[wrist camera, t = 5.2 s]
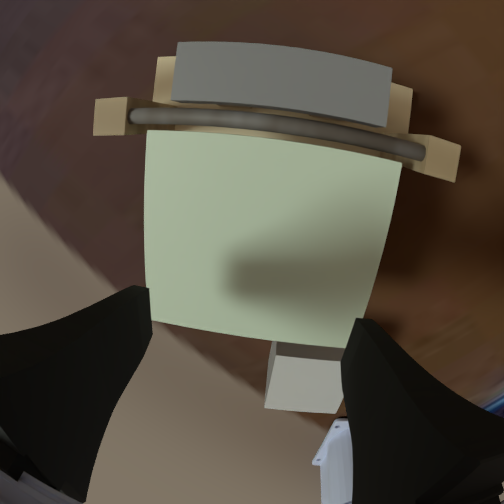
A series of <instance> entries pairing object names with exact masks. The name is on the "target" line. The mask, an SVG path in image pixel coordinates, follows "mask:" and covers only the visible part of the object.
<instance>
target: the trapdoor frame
mask: <svg viewBox="0 0 504 504" xmlns="http://www.w3.org/2000/svg"><path fill="white" fill-rule="evenodd" d="M175 60H176V56H172V57H158V62H157V69H156V77H155V85H154V94H153V101H148V100H142V99H137V98H131V97H119V98H105V99H96V102H95V114H94V129H93V136H96V135H132V134H147V130H173V131H195V132H211V133H224V134H235V135H246V136H255V137H264V138H272V139H280V140H287V141H294V142H301V143H307V144H314V145H320V146H326V147H331V148H337V149H342V150H347V151H352V152H357V153H362V154H367V155H371V156H376V157H380V158H385V159H389V160H393V161H397V162H400V163H402V167H401V168H403V167H405V168H408V169H411V170H414V171H417V172H420V173H423V174H426V175H430V176H433V177H437V178H441V179H444V180H447V181H451V182H454V183H455V179H456V174H457V168H458V162H459V156H460V150H461V146H460V145H458V144H455V143H452V142H449V141H446V140H443V139H440V138H437V137H434V136H431V135H420V134H408V129H409V121H410V113H411V104H412V93H413V89H411V88H408V87H405V86H401V85H398V84H395V83H391V89H390V99H389V108H388V116H387V124H386V127H378V128H375V127H371V126H366V125H362V124H357V123H353V122H348V121H343V120H338V119H332V118H327V117H321V116H315V115H309V114H303V113H296V112H289V111H282V110H274V109H265V108H255V107H245V106H232V105H217V104H195V103H180V102H176V101H172V100H171V92H172V83H173V75H174V68H175Z"/></svg>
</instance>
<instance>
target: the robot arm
mask: <svg viewBox="0 0 504 504" xmlns="http://www.w3.org/2000/svg"><path fill="white" fill-rule="evenodd" d="M152 334H153V333H152V321H151V308H150V292H149V288H146V287H141V286H136V285H133V286H130V287H128V288H126V289H123V290H121V291H119V292H117V293H115V294H113V295H111V296H109V297H107V298H105V299H103V300H101V301H99V302H97V303H95V304H93V305H91V306H89V307H87V308H84V309H82V310H80V311H78V312H75V313H73V314H71V315H69V316H66V317H64V318H61V319H59V320H56V321H53V322H50V323H47V324H44V325H41V326H38V327H34V328H31V329H26V330H22V331H18V332H14V333H9V334H3V335H0V504H83V503H84V502H86V497H87V492H88V487H89V483H90V478H91V474H92V470H93V467H94V463H95V460H96V457H97V453H98V449H99V447H100V444H101V441H102V438H103V435H104V432H105V430H106V427H107V425H108V422H109V420H110V417H111V415H112V412H113V410H114V408H115V406H116V404H117V402H118V400H119V398H120V396H121V395H122V393H123V391H124V389H125V388H126V386H127V384H128V383H129V381H130V379H131V378H132V376H133V374H134V372H135V371H136V369H137V367H138V365H139V364H140V362H141V360H142V358H143V357H144V354H145V352H146V349H147V347H148V345H149V342H150V340H151V337H152ZM340 365H341V383H342V391H343V396H344V401H345V407H346V412H347V417H348V419H347V418H338V419H336V420H335V421H334V422H333V424H332V426H331V428H330V430H329V432H328V434H327V436H326V438H325V439H324V441H323V443H322V445H321V447H320V448H319V450H318V452H317V454H316V456H315V457H314V459H313V461H312V464H313V465H320V469H321V470H320V471H321V502H322V504H504V500H503V501H502V502H500V499H499V496H498V495H500V494H502V493H503V491H504V489H503V486H502V482H503V481H504V418H501V417H499V416H497V415H495V414H492V413H490V412H488V411H486V410H484V409H482V408H480V407H478V406H476V405H475V404H473V403H471V402H469V401H468V400H466V399H464V398H463V397H461V396H460V395H458V394H456V393H455V392H453V391H452V390H450V389H449V388H448V387H446V386H445V385H444V384H442V383H441V382H440V381H438V380H437V379H436V378H434V377H433V376H432V375H431V374H429V373H428V372H427V371H426V370H425V369H424V368H423V367H421V366H420V365H419V364H418V363H417V362H416V361H415V360H414V359H413V358H412V357H410V356H409V355H408V354H407V353H406V352H405V351H404V350H403V349H402V348H401V347H400V346H399V345H398V344H397V343H396V342H395V341H394V340H393V339H392V338H391V337H390V336H389V335H388V334H387V333H386V332H385V331H384V330H383V329H382V328H381V327H380V326H379V325H378V324H377V323H376V322H375V321H374V320H372V319H364V318H356V319H355V322H354V325H353V328H352V331H351V334H350V337H349V339H348V342H347V345H346V348H345V351H344V353H343V356H342V359H341V362H340Z"/></svg>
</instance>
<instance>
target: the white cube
mask: <svg viewBox="0 0 504 504" xmlns="http://www.w3.org/2000/svg"><path fill="white" fill-rule="evenodd" d="M344 351H345V348H338V347H326V346H316V345H306V344H297V343H289V342H280V341H273V340H272V345H271V351H270V356H269V361H268V372H267V383H266V394H265V406H264V408H270V409H279V410H289V411H301V412H316V413H336V412H337V410H338V408H339V405H340V403H341V401H342V399H343V397H344V396H343V391H342V383H341V365H340V362H341V359H342V356H343V353H344Z"/></svg>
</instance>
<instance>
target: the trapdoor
mask: <svg viewBox="0 0 504 504" xmlns="http://www.w3.org/2000/svg"><path fill="white" fill-rule="evenodd" d="M391 78H392V68H390V67H387V66H383V65H379V64H376V63H372V62H368V61H364V60H360V59H355V58H351V57H346V56H342V55H337V54H332V53H326V52H321V51H315V50H309V49H302V48H295V47H287V46H278V45H268V44H256V43H240V42H178V47H177V53H176V60H175V68H174V75H173V83H172V92H171V100H172V101H176V102H180V103H195V104H217V105H232V106H245V107H255V108H265V109H274V110H282V111H289V112H296V113H303V114H309V115H315V116H321V117H327V118H332V119H338V120H343V121H348V122H353V123H357V124H362V125H366V126H371V127H375V128H378V127H386V124H387V116H388V108H389V99H390V89H391ZM401 167H402V163H400V162H397V161H393V160H389V159H385V158H380V157H376V156H371V155H367V154H362V153H357V152H352V151H347V150H342V149H337V148H331V147H326V146H320V145H314V144H307V143H301V142H294V141H287V140H280V139H272V138H264V137H255V136H246V135H235V134H224V133H211V132H195V131H173V130H147V142H146V160H145V187H144V246H145V274H146V288H149V292H150V308H151V320H155V321H160V322H164V323H169V324H174V325H180V326H185V327H190V328H196V329H201V330H207V331H213V332H218V333H225V334H231V335H237V336H244V337H251V338H258V339H265V340H273V341H280V342H289V343H297V344H306V345H316V346H326V347H338V348H346V345H347V342H348V339H349V337H350V334H351V331H352V328H353V325H354V322H355V319H356V318H363V316H364V313H365V310H366V307H367V304H368V301H369V298H370V294H371V291H372V288H373V285H374V281H375V278H376V274H377V271H378V267H379V264H380V260H381V257H382V253H383V249H384V245H385V241H386V237H387V233H388V229H389V225H390V221H391V217H392V212H393V208H394V203H395V198H396V194H397V189H398V183H399V178H400V173H401Z"/></svg>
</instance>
